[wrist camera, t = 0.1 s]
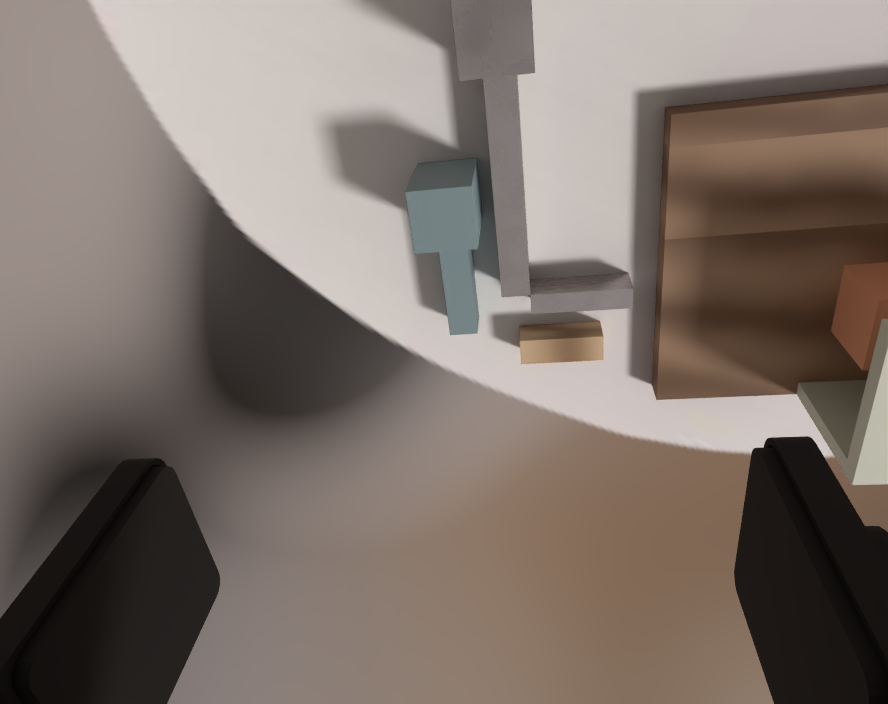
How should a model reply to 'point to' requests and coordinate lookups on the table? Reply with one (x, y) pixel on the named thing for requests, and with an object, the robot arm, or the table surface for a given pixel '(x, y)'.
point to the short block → (561, 342)
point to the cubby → (855, 417)
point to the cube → (861, 310)
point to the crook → (518, 153)
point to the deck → (765, 238)
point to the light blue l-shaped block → (449, 231)
